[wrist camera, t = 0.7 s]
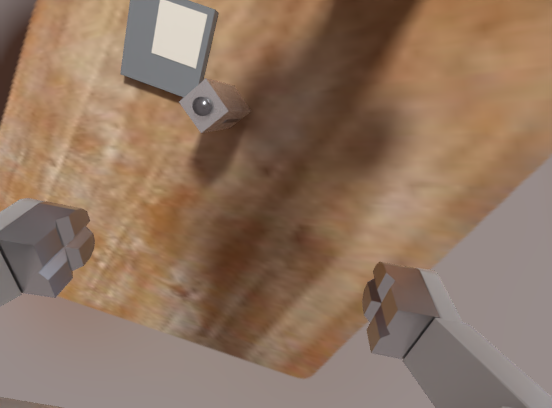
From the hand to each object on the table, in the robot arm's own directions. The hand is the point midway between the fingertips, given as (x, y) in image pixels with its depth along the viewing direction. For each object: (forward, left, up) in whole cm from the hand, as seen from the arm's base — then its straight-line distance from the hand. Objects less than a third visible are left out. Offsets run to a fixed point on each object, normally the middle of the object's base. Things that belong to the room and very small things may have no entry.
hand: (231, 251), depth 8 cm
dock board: (-5, -28, -44) cm, 52 cm away
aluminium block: (+1, -15, -44) cm, 46 cm away
